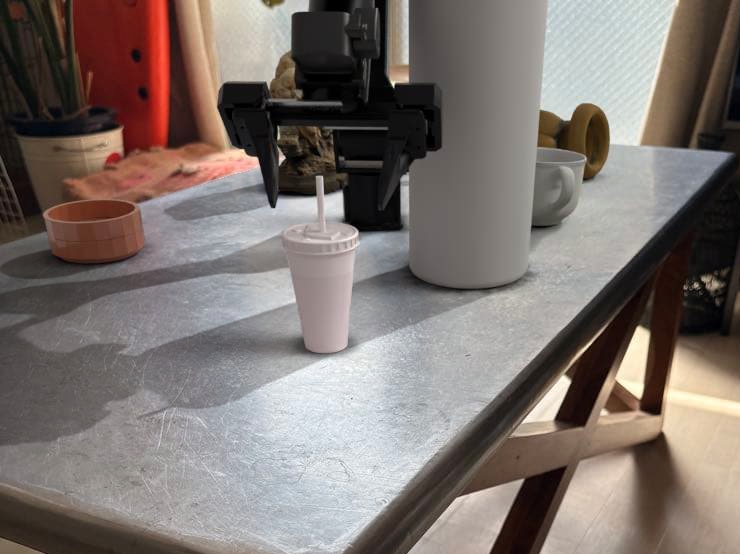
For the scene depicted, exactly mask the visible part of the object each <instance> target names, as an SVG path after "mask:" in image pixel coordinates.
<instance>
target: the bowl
mask: <svg viewBox="0 0 740 554" xmlns="http://www.w3.org/2000/svg"><path fill="white" fill-rule="evenodd" d="M42 218H43V222H44V226H45V231H46V235H47V239H48V244H49V248H50V251H51V253H52V255H54V256H56V257H58V258H60V259H61V260H63V261H66V262H70V263H75V264H102V263H103V264H104V263H110V262H116V261H121V260H123V259H128V258H130V257H133V256H134V255H136V254H137V253H138V252H140V250H141V249H142V248H143V247H145V245H146V242H147V241H146V235H145V229H144V225H143V218H142V213H141V207H140V205H139V204H138V203H136V202H133V201H130V200H124V199H117V198H116V199H114V198H95V199H93V198H91V199H84V200H83V199H82V200H75V201H70V202H65V203H61V204H58V205H55V206H52V207H49V208H48V209H46V210H45V211H44V212H43V213H42Z"/></svg>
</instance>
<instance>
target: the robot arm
mask: <svg viewBox="0 0 740 554" xmlns="http://www.w3.org/2000/svg"><path fill="white" fill-rule="evenodd" d="M391 2H392V0H308V9H307V11H295V12H293V13H292V14H291V15H290V18H291V19H290V21H291V22H290V28H291V29H290V50H291V59H292V61H294V62H295V72H294V82H295V86H296V89H302V90H301V99H272V98H271V95H270V91H269V88H270V87H269V85H268V82H267V81H266V80H265V81H264V80H263V81H260V80H259V81H258V80H256V81H254V80H253V81H250V80H249V81H247V80H236V81H235V80H227V81H224V82H223V83H222V85H221V86H220V88H219V89H218V91H217V92H218V94H217V100H216V101H217V102H216V109H217V111H218V115H219V117H220V119H221V122H222V123H223V126H224V129H225V131H226V134H227V136H228V138H229V141H230V143H231V146H232V147H235V148H236V149H239V150H243V151H244V153H245V155H247V156H248V157H250V158H256V159H257V160H258V165H259V168H260V172H261V173H260V174H261V177H262V181H263V185H264V189H265V193H266V198H267V201H268V204H269V207H270V209H276V208H277V203H278V198H279V191H278V180H279V166H280V150H279V148H278V146H277V145H276V142H277V140H279V139H278V138H279V137H278V136H279V126H308V127H324V128H325V129H332V135H333V147H334V157H335V166H336V174H341V173H347V182H343V183H342V182H341V183H342V187H341V191H342V214H343V219H344V222H345V223H347V224H348V225H351V226H353V227H355V228H356V229H357V230H358V231H371V230H373V231H374V230H394V229H395V230H396V229H399V230H400V229H403V228H404V222H403V219H402V206H401V205H402V201H401V200H402V188H401V183H402V181H401V179H402V178H403V176H406V175H407V174H409V167H410V166H411V164H412V163H413V162H414V160H416V159H423V158H425V157H426V155H427V152H436V151H438V150H439V149H441V148H442V136H443V104H442V90H441V89H440V87H439V86H438V85H437V84H436V83H409V82H403V81H402V82H398V81H397V82H395V83H394V85H393V84H392V82H391V80H390V64H391V63H390V61H391V12H392V11H391V9H392V7H391V6H392V5H391Z"/></svg>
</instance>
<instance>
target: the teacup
mask: <svg viewBox="0 0 740 554" xmlns="http://www.w3.org/2000/svg"><path fill="white" fill-rule="evenodd" d="M586 161H587V158H586V156H584V155H583V154H580V153H576V152H572V151H567V150H561V149H554V148H543V147H537V153H536V167H535V180H534V194H533V207H532V220H531V226H535V227H536V226H537V227H539V226H541V227H547V226H555V225H558V224H560V223H562V222H563V221H564V220H565V219H566V218H567V217H569V216H571V214H573V213H574V212H575V210H576V208H577V206H578V204H579V200H580V197H581V192H582V187H583V179H584V178H583V174H584V167H585V163H586Z"/></svg>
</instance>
